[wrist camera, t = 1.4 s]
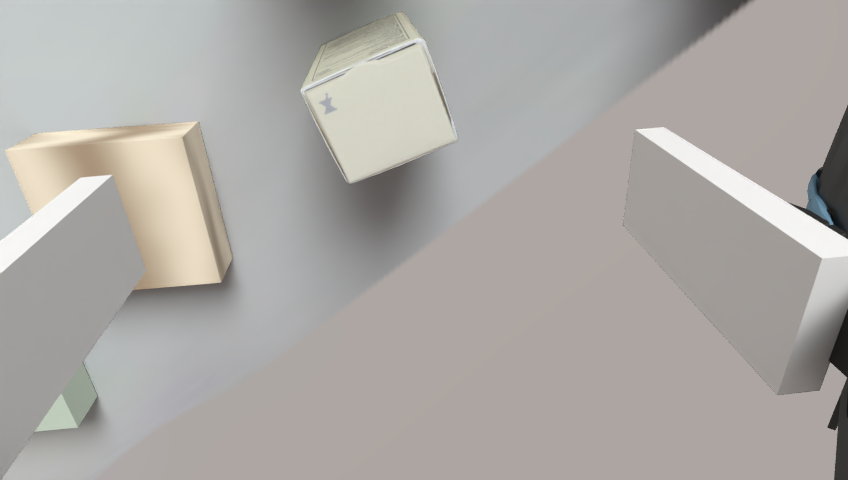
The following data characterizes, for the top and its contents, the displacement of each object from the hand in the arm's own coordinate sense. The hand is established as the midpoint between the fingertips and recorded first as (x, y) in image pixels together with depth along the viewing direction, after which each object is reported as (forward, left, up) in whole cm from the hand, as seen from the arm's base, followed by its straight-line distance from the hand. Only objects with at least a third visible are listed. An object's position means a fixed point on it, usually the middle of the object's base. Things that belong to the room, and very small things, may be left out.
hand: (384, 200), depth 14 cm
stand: (+15, +7, -19) cm, 25 cm away
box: (0, 0, -19) cm, 19 cm away
